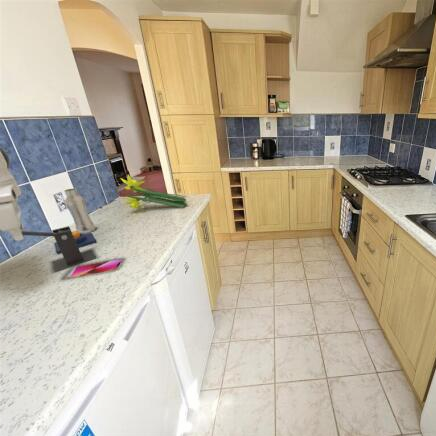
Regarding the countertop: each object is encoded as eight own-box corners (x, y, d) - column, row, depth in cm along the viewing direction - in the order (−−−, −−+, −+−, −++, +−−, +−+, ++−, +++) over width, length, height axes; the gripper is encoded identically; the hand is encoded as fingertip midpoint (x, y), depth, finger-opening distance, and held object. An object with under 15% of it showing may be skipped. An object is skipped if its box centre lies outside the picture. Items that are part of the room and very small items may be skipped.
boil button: (67, 242, 93) (64, 237, 92) (65, 238, 96) (63, 233, 95) (81, 237, 96) (79, 233, 95) (79, 234, 98) (78, 230, 98)
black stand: (56, 274, 80) (39, 240, 74) (54, 264, 85) (38, 231, 80) (97, 260, 87) (84, 228, 82) (92, 251, 92) (80, 221, 87)
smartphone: (73, 266, 82) (124, 258, 86) (75, 269, 82) (124, 260, 86) (62, 279, 75) (116, 269, 79) (63, 282, 76) (117, 272, 79)
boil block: (58, 256, 90) (54, 247, 88) (56, 247, 96) (52, 238, 95) (97, 244, 98) (94, 235, 96) (93, 237, 104) (89, 228, 103)
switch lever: (14, 239, 72) (16, 231, 72) (15, 234, 75) (16, 226, 75) (69, 240, 81) (70, 234, 81) (67, 236, 84) (68, 229, 84)
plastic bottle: (87, 236, 105) (69, 192, 97) (74, 235, 106) (55, 191, 98) (100, 230, 110) (84, 187, 102) (87, 229, 111) (70, 187, 103)
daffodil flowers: (179, 215, 127) (105, 202, 120) (185, 219, 141) (119, 207, 134) (186, 184, 130) (114, 170, 123) (191, 191, 144) (127, 179, 138)
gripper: (-16, 187, 73) (7, 228, 79) (-25, 202, 60) (3, 250, 66) (14, 183, 78) (33, 222, 83) (11, 195, 64) (35, 241, 70)
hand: (20, 234), depth 74 cm, fingers open, 8 cm apart
